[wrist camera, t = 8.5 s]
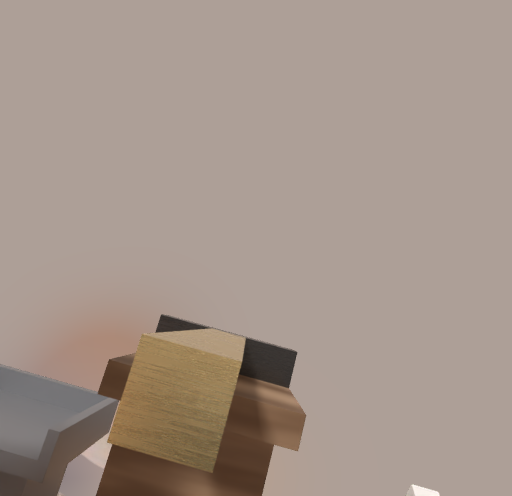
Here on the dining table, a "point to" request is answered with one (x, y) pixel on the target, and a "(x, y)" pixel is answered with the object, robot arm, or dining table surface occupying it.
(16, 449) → the tray stand
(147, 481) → the pin stand
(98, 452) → the dining table surface
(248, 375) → the pin
